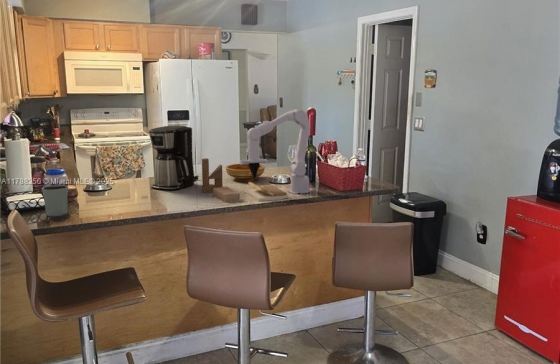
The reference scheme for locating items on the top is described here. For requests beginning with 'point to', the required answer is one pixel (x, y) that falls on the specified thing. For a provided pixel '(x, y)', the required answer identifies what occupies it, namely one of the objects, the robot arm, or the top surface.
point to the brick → (226, 194)
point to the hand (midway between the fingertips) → (253, 177)
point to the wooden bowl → (243, 172)
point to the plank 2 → (264, 190)
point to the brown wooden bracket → (210, 177)
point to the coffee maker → (173, 157)
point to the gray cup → (55, 200)
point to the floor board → (264, 196)
